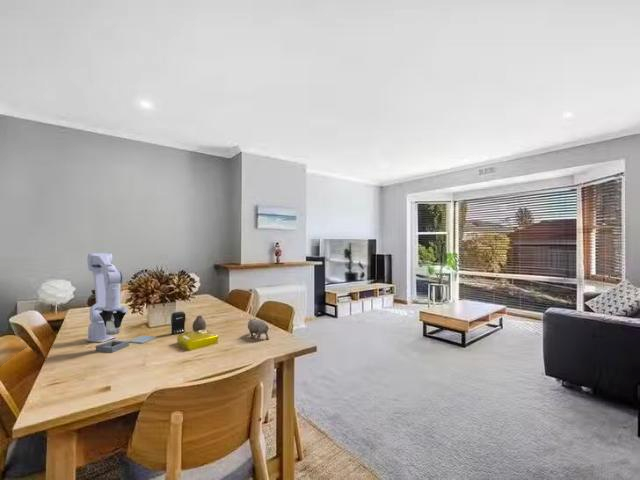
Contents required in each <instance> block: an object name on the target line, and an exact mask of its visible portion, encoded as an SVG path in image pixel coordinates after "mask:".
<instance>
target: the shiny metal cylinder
mask: <svg viewBox="0 0 640 480" xmlns="http://www.w3.org/2000/svg"><path fill="white" fill-rule="evenodd" d="M119 333H120V327H118V328H115V321H114V319H111V320H107V321H106V335H111V336H114V335H118V334H119Z"/></svg>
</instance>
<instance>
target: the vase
mask: <svg viewBox="0 0 640 480" xmlns="http://www.w3.org/2000/svg"><path fill="white" fill-rule="evenodd" d="M200 330H207V323H206V321H205V319H204V318H203V316H202V315H197V316H196V318H195V319H194V321H193V322H192V332H195V331H200Z"/></svg>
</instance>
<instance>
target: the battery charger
mask: <svg viewBox="0 0 640 480" xmlns="http://www.w3.org/2000/svg"><path fill="white" fill-rule="evenodd" d="M186 319H187V318H186V313H185V312H184V311H183V310H182V311H173V312H172V313H171V315H170V329H171V330H170V334H171V335H180V334H185V332H186V329H185V325H186V323H185V322H187V321H186Z"/></svg>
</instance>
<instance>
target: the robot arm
mask: <svg viewBox="0 0 640 480" xmlns="http://www.w3.org/2000/svg"><path fill="white" fill-rule="evenodd" d="M113 258H114V257H113V254H112V253H111V252H95V253H94V252H92V253H91V252H89V253H88V255H87V258H86V259H87V260H86V261H87V268H88V271H89V272H92V275H93V282H94V294H95V303H94V304H93V305H92V306H91V307H90V309H89V321H90V322H91V323H90V324H89V326H88V327H87V328H88V331H87V335H88V336H87V339H86V342H94V343H95V342H96V343H103V342H104V343H105V342H106V341H107V342H108V341H109V340H112V339H113V340H114V339H115V338H116V336H114V335H106V321H107V320H111V319H114V321H115V328H118V327H119V328H121V326H122V322H123V319H124V317H125V316H126V314H127V313H128V312H129V308H128V306H127V307H125V306H121V284H122V283H123V272H122V271H121V270H118V269H117V268H116V266H115V265H114V264H112V263H113Z"/></svg>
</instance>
